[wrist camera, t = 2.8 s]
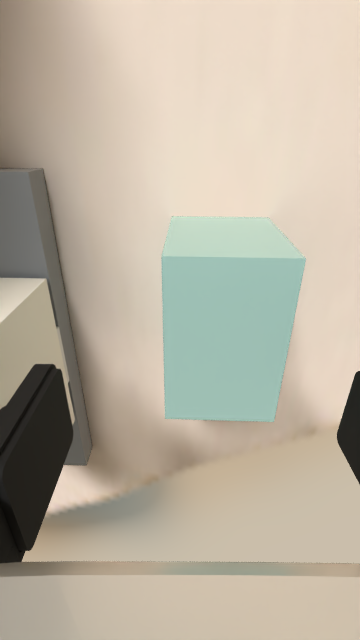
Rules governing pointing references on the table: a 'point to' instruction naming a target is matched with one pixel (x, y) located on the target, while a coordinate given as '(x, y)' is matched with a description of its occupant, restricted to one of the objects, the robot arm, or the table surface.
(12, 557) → the robot arm
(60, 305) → the rail board
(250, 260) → the block
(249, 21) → the table surface
